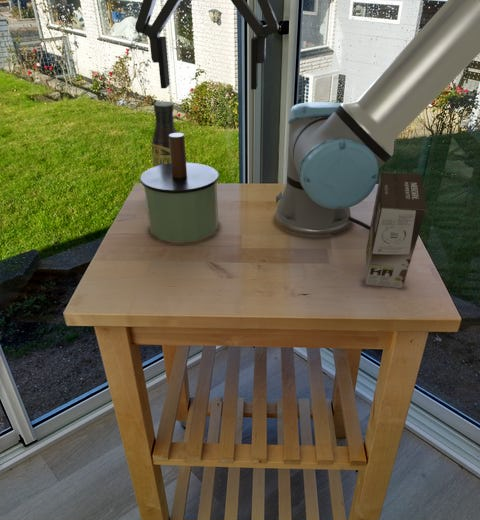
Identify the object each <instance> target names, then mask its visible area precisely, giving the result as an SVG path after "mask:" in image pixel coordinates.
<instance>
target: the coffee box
mask: <svg viewBox="0 0 480 520" xmlns="http://www.w3.org/2000/svg"><path fill="white" fill-rule="evenodd" d="M425 195H426V194H425V189H424V179H423V175H422V173H421V174H419V173H397V172H396V173H388V172H380V174H379V179H378V184H377V190H376V194H375V200H374V206H373V210H372V216H371V223H370V225H369V226H370V230H368V231H369V232H368V238H367V242H366V248H365V285H366V286H375V287H386V288H395V289H396V288H397V289H402V288H403V287H404V284H405V281H406V278H407V274H408V270H409V269H410V265H411V262H412V258H413V254H414V252H415V248H416V245H417V242H418V239H419V236H420V233H421V229H422V225H423V223H424V219H425V217H426V212H427V203H426V196H425Z"/></svg>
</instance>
